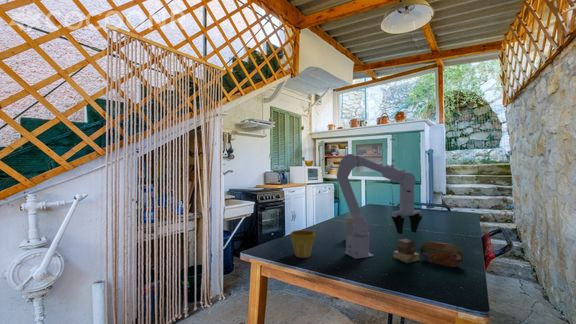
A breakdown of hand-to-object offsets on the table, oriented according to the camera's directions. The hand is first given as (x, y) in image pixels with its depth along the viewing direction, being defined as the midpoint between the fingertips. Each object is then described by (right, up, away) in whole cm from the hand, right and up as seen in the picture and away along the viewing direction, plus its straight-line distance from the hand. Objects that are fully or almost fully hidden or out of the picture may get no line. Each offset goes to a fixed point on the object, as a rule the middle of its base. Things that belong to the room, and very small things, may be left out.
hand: (406, 232), depth 114 cm
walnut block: (-1, -8, -2) cm, 8 cm away
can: (-17, -11, +25) cm, 32 cm away
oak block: (-1, -11, -2) cm, 11 cm away
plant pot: (-44, -10, +1) cm, 45 cm away
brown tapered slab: (+11, -11, -7) cm, 17 cm away
